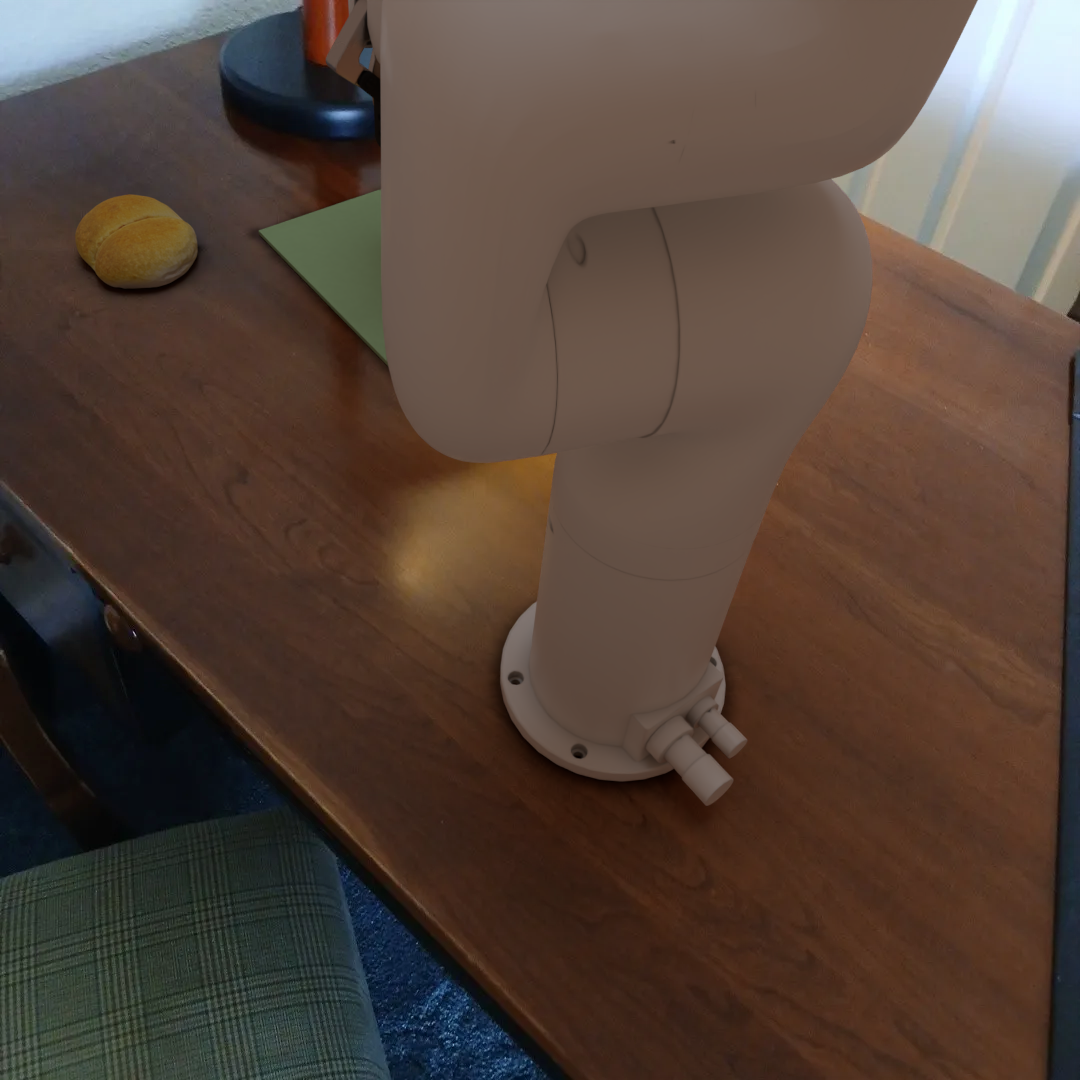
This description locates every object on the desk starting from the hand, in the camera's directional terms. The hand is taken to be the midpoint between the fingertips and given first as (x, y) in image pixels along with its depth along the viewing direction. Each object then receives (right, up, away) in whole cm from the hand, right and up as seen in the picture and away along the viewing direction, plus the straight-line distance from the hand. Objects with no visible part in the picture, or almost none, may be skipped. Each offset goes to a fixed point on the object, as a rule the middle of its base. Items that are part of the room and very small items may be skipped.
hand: (430, 140), depth 74 cm
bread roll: (-23, -7, +7) cm, 25 cm away
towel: (-1, -7, +8) cm, 11 cm away
